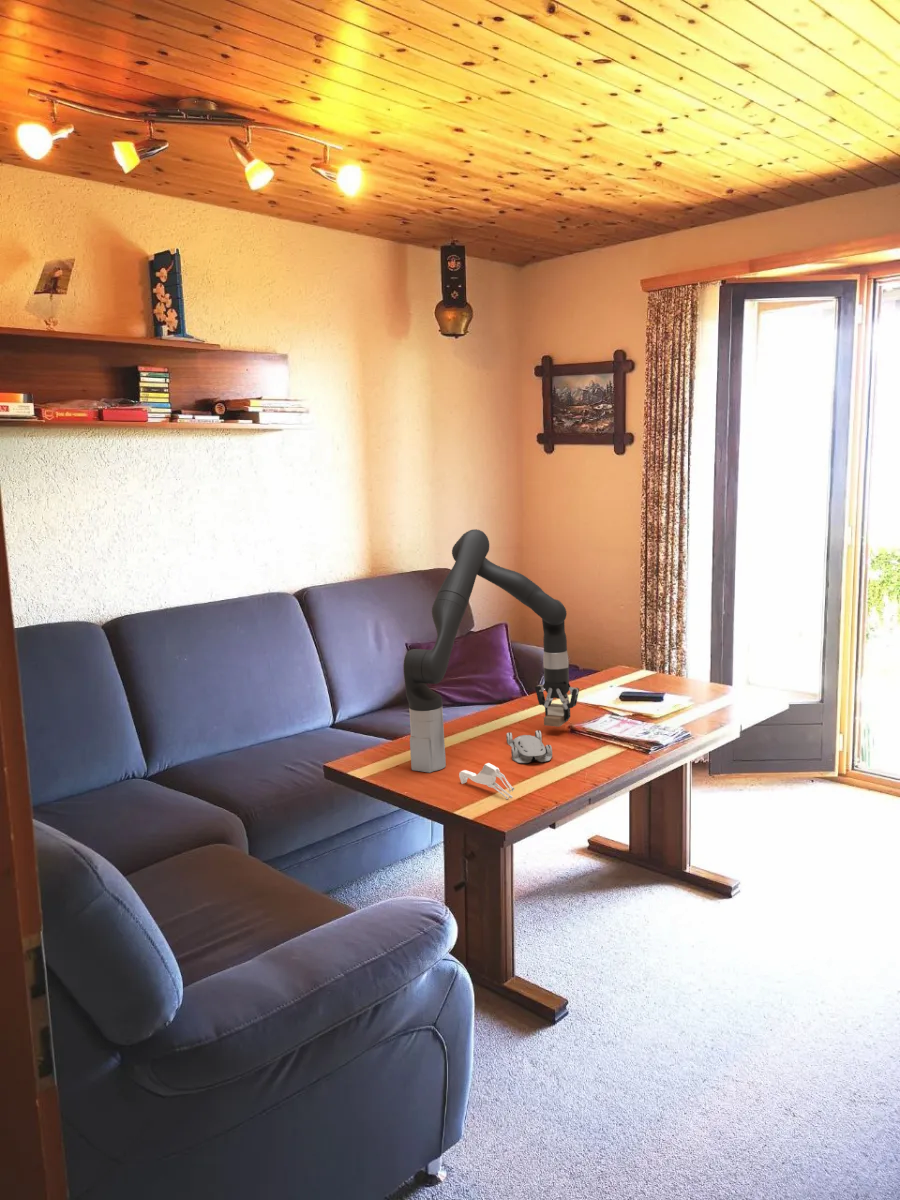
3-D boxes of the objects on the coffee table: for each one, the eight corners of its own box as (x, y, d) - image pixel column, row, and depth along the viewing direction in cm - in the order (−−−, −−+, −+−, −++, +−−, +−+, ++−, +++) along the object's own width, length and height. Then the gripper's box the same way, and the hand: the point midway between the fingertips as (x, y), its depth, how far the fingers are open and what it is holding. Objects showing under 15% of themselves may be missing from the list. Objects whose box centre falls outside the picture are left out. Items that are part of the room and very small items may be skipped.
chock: (553, 719, 286) (552, 703, 285) (568, 720, 283) (567, 704, 282) (544, 725, 280) (543, 709, 279) (559, 726, 277) (558, 710, 276)
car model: (541, 739, 277) (540, 723, 277) (555, 765, 253) (555, 747, 253) (504, 742, 277) (503, 726, 276) (515, 768, 253) (515, 750, 252)
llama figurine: (506, 819, 233) (462, 778, 244) (516, 783, 228) (470, 743, 240) (501, 821, 232) (456, 779, 243) (511, 785, 227) (465, 745, 238)
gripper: (529, 666, 280) (531, 720, 283) (573, 669, 273) (575, 725, 276) (539, 661, 287) (541, 714, 289) (582, 664, 280) (584, 718, 282)
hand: (558, 719), depth 283 cm, fingers closed on chock, 5 cm apart
